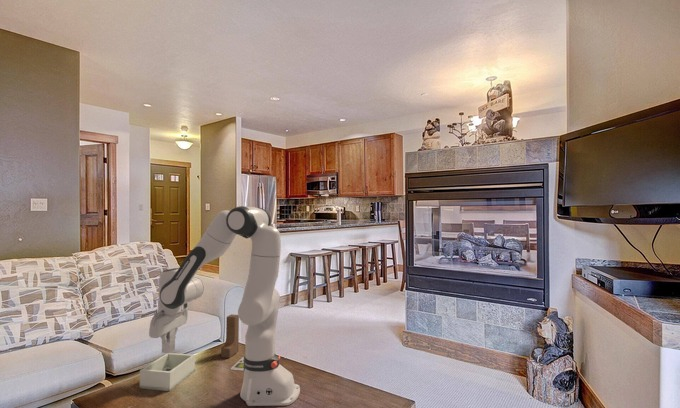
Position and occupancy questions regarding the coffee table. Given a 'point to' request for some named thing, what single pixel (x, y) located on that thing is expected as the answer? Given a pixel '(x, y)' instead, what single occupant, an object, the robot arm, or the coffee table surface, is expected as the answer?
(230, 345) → the wooden block
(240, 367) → the handheld gaming device
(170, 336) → the metal peg
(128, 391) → the coffee table surface
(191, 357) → the walled box
